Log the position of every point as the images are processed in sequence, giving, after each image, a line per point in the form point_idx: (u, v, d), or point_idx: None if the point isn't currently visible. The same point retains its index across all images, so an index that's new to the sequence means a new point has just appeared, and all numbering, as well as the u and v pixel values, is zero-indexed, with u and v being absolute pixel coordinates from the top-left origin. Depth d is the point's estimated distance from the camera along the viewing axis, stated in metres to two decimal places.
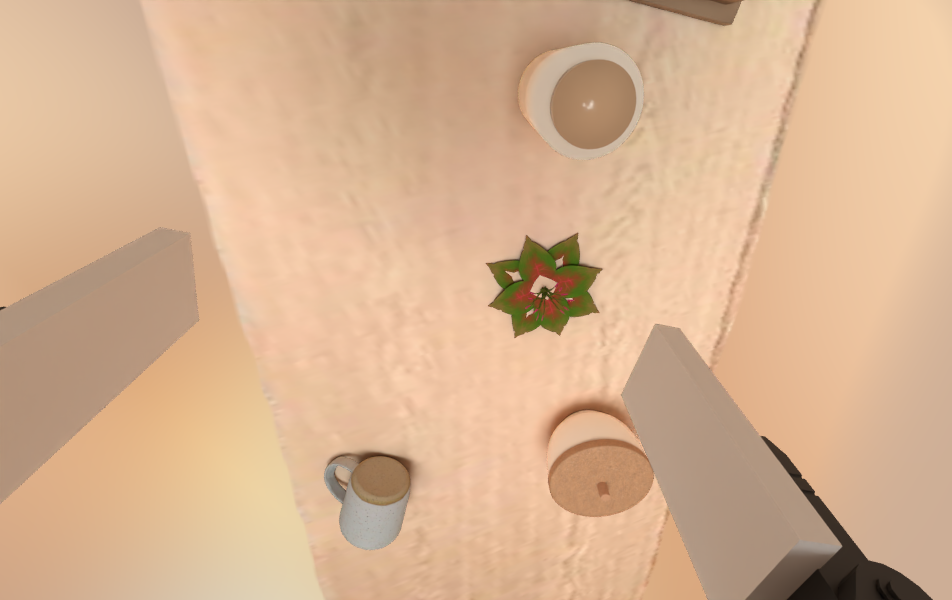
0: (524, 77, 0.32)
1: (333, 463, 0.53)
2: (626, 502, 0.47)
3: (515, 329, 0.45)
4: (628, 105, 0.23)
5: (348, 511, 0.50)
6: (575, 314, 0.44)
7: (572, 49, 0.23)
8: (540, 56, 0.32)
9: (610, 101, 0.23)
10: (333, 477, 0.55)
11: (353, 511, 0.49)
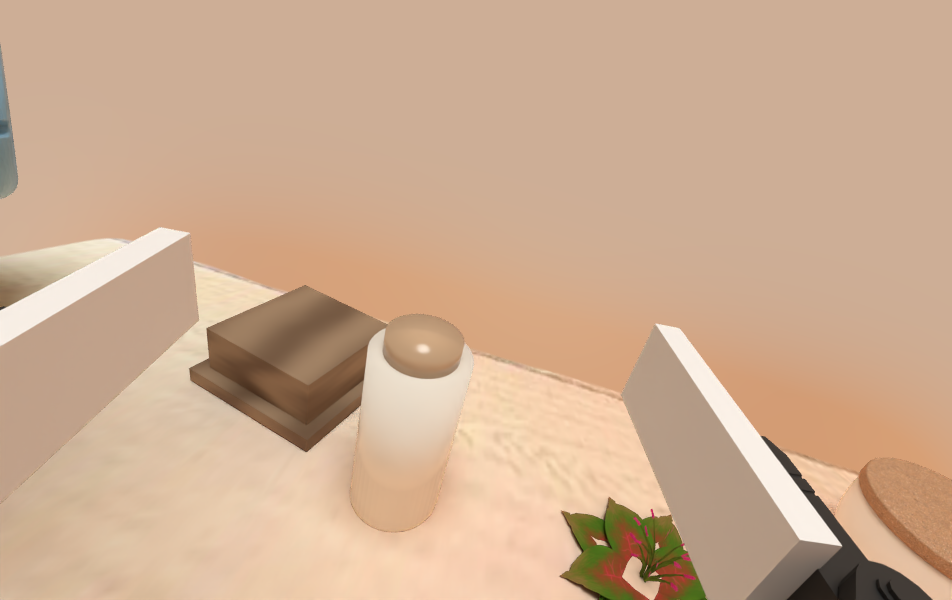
0: (365, 494, 0.27)
1: None
2: None
3: None
4: (434, 320, 0.26)
5: None
6: (679, 543, 0.31)
7: (368, 349, 0.24)
8: (353, 474, 0.28)
9: (426, 327, 0.25)
10: None
11: None
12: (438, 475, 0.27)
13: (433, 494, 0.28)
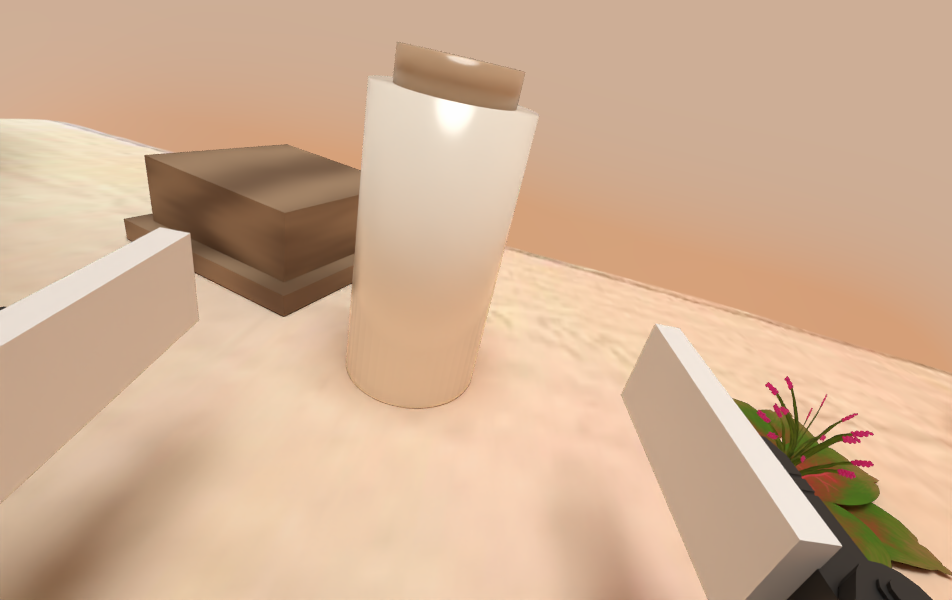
0: (368, 344, 0.18)
1: None
2: None
3: (928, 566, 0.17)
4: None
5: None
6: None
7: (370, 77, 0.15)
8: (349, 324, 0.19)
9: (461, 56, 0.16)
10: None
11: None
12: (479, 315, 0.18)
13: (470, 351, 0.19)
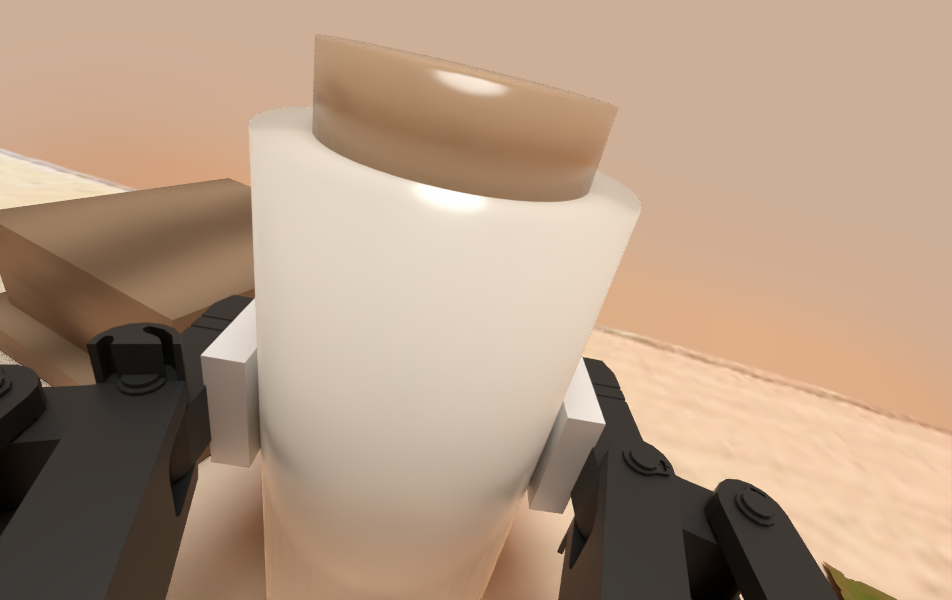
0: None
1: None
2: None
3: None
4: (490, 71, 0.08)
5: None
6: None
7: (256, 118, 0.06)
8: (264, 545, 0.10)
9: (468, 67, 0.07)
10: None
11: None
12: (498, 550, 0.10)
13: (481, 592, 0.11)
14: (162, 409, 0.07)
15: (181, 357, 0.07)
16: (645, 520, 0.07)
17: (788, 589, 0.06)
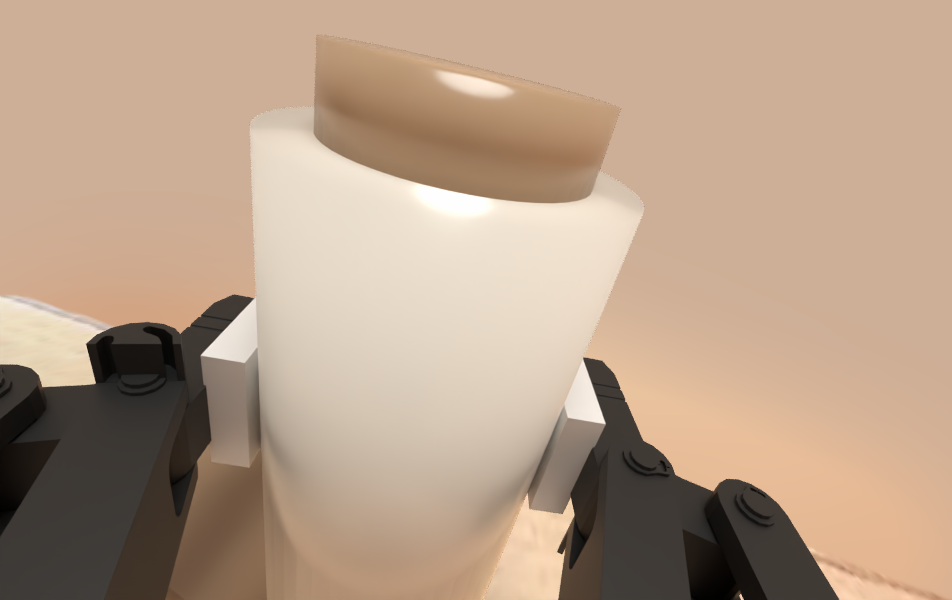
0: None
1: None
2: None
3: None
4: (492, 71, 0.08)
5: None
6: None
7: (258, 118, 0.06)
8: None
9: (470, 67, 0.07)
10: None
11: None
12: (500, 551, 0.10)
13: (482, 594, 0.11)
14: (162, 409, 0.07)
15: (181, 357, 0.07)
16: (645, 520, 0.07)
17: (788, 589, 0.06)
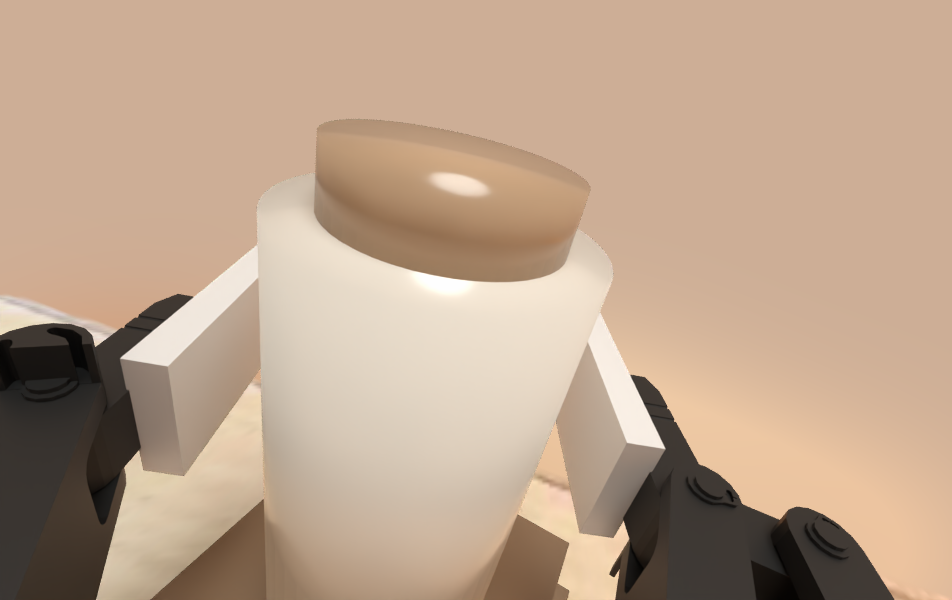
0: None
1: None
2: None
3: None
4: (478, 140, 0.09)
5: None
6: None
7: (263, 198, 0.07)
8: None
9: (457, 143, 0.08)
10: None
11: None
12: (488, 581, 0.10)
13: None
14: (74, 413, 0.06)
15: (93, 358, 0.07)
16: (711, 550, 0.07)
17: None
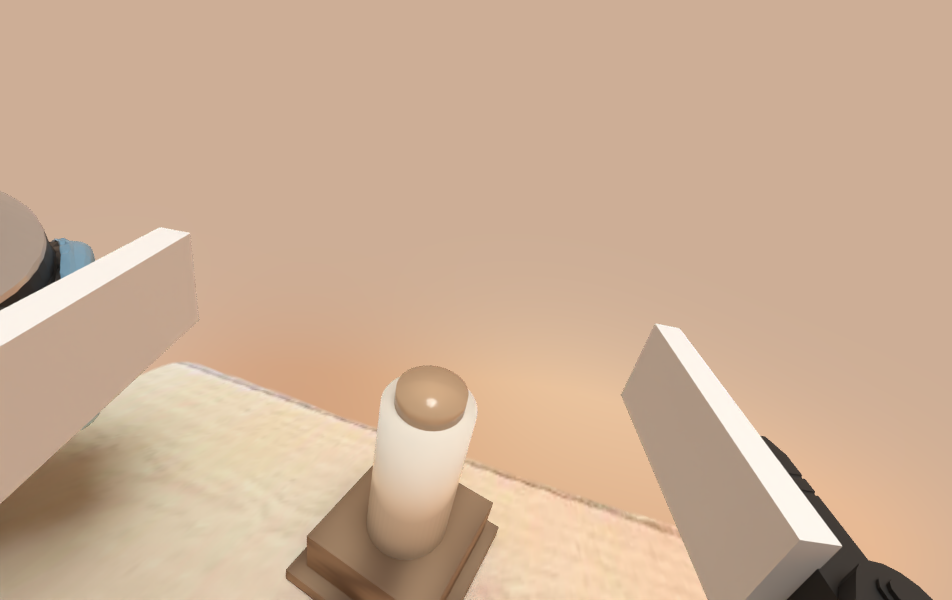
0: (381, 527, 0.30)
1: None
2: None
3: None
4: (441, 371, 0.28)
5: None
6: None
7: (381, 403, 0.26)
8: (369, 508, 0.31)
9: (433, 379, 0.27)
10: None
11: None
12: (447, 509, 0.30)
13: (443, 525, 0.31)
14: None
15: None
16: None
17: None
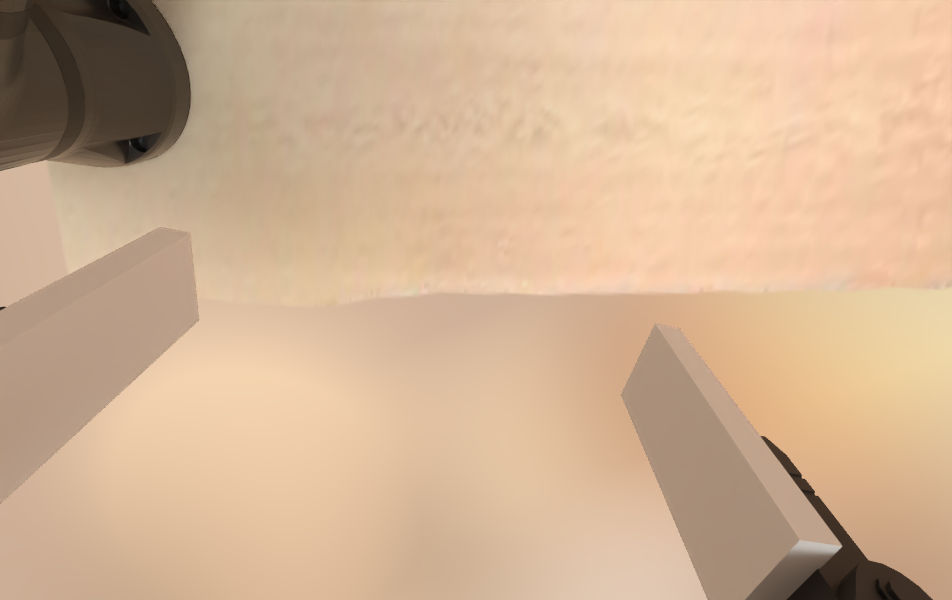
0: None
1: None
2: None
3: None
4: None
5: None
6: None
7: None
8: None
9: None
10: None
11: None
12: None
13: None
14: None
15: None
16: None
17: None
